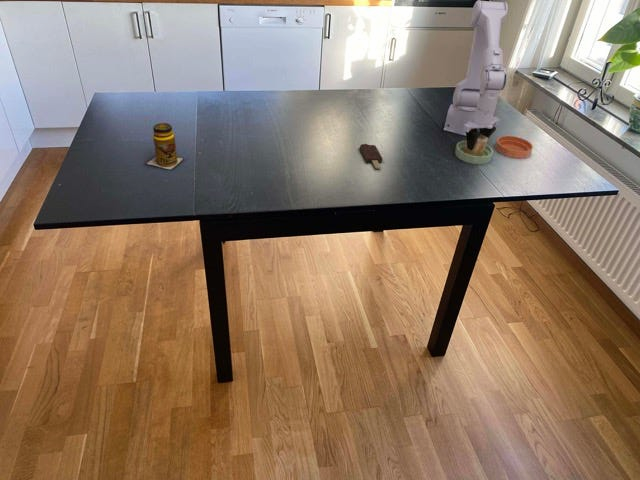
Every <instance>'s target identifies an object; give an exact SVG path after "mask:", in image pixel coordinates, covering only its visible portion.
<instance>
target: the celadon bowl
mask: <svg viewBox="0 0 640 480" xmlns="http://www.w3.org/2000/svg"><path fill="white" fill-rule="evenodd" d="M466 141H467V140H461V141H459V142H457V143H456V145H455V150H454V154H455V156H456V157H457V158H458V159H459V160H461V161H463V162H466V163H468V164H473V165H486V164H488V163H490V162H491V161H492V158H493V154H494V150H493V148H492V147H491V146H490V145H488V144H486V147H485V151H484V154H483V157H479V156H472V155H468V154H466V153H464V149H465V145H466Z"/></svg>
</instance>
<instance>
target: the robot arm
mask: <svg viewBox="0 0 640 480" xmlns="http://www.w3.org/2000/svg"><path fill="white" fill-rule="evenodd" d="M508 13H509V5H508V3H507V2H506V1H502V2H501V1H490V0H489V1H487V0H476V2H475V3H474V5H473V7H472V12H471V17H470V24H469V25H470V27H471V28H473V37H472V42H471V48H470V53H469V58H468V64H467V69H466V76H465V78H464V79H462V80H461V81H459V82H458V83H457V84H456V85H455V89H454V92H453V95H452V103H451V104H450V106H449V108H448V110H447V115H446V119H445V124H444V127H443V131H446V132H450V133H453V134H456V135H457V134H458V135H461V136H465V137H466V141H467V148H468V149H469V150H473V148H474V146H475V143H476V141H477V139H478V137H479V136H480V135H481V134H482V135H484V136H485V137H487V138H488V139H489V138H490V137H492V135H493V134H494V133H495V132H496V130H497V127H495V126H494V125H499V123H500V118H499V117H497V116H494V115H495V111H496V107H497V105H498V101H499V97H500V95H501V91H504V90H505V88H506V85H507V81H508V73H507V71H506V67H504V50H503V49H502V47H500V40H501V28H502V26H503V25H504V24H505V23H504V22H505V21H506V19H507V18H508V17H507V16H508ZM482 70H483V71H482ZM475 89H478V90H475ZM478 129H479V131H478Z"/></svg>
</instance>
